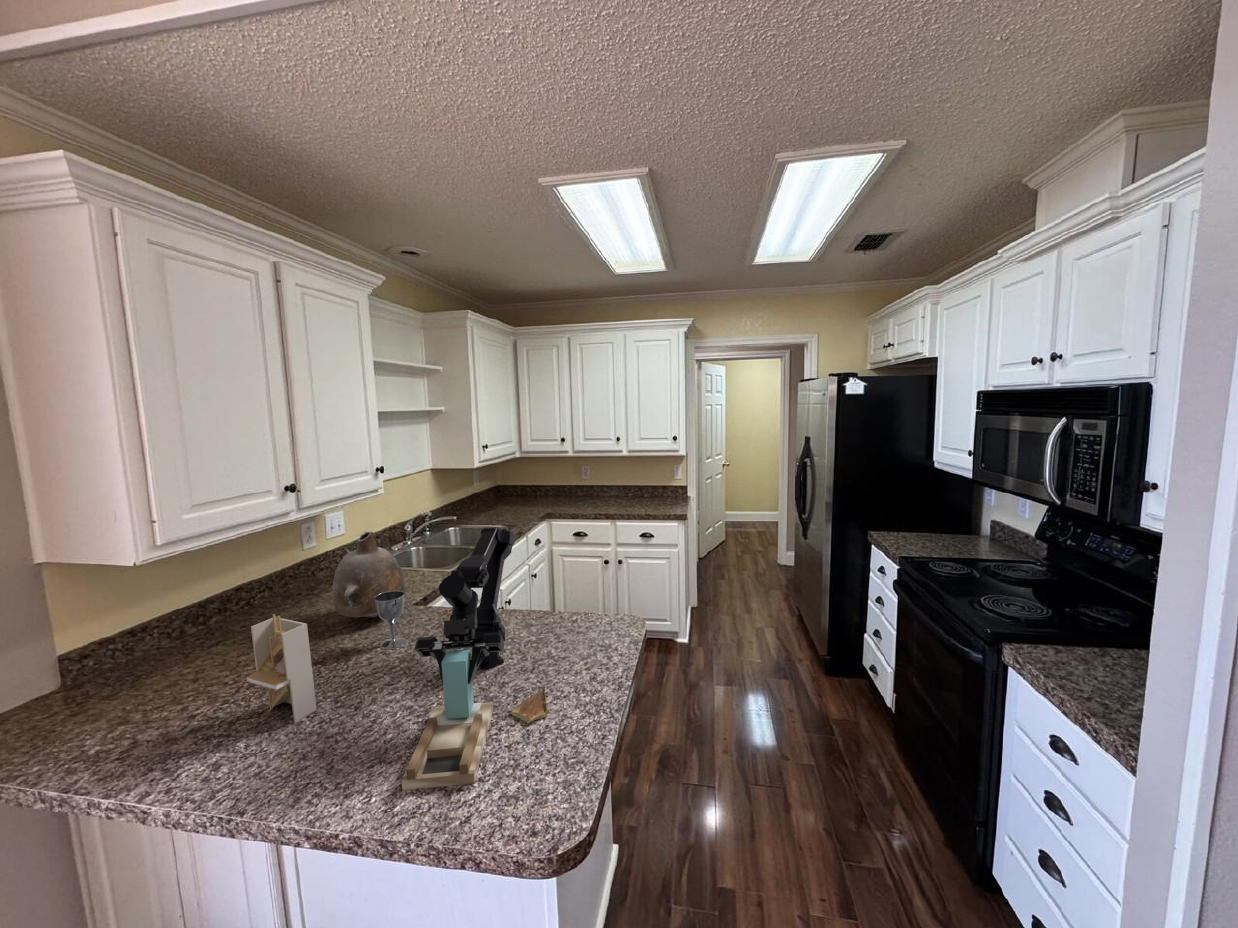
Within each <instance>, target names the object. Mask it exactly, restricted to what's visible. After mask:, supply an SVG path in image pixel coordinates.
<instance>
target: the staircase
mask: <svg viewBox="0 0 1238 928" xmlns="http://www.w3.org/2000/svg"><path fill="white" fill-rule="evenodd" d="M250 631H251V638H252V647H253V656H254V661H255V662H254V663H255V669H256V670H255V671H256V672H254V673H252V674H249V676H246V681H247V682H249V683H252V684H256V685H259V686H263V687H266V688H268V689H267V694H268V703H269V710H270V711H272V710H274V709H273V708H275V707H277V706H279V705H281V704H282V703H286V704H290V705H291V707H292V717H293V723H297V722H298V723H299V721H301V720H302V719H304V718H306V717H307V716H309V715H310V714H312V713H314V712H315V711H316V710H317V703H316V702H317V701H316V693H315V685H314V683H315V682H314V676H313V674H314V673H313V667H312V657H311V649H310V641H309V640H310V639H309V631H308V623H305V622H301V621H296V620H291V619H286V618H281V615H278V616H277V615H276V614H275V613H274V614H272V617H271V618H269V619H266V620H263V621H261V622H259V623H257V624H254V625H252V626H250ZM276 667H277V669H276ZM276 670H277V671H276Z"/></svg>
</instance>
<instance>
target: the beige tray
mask: <svg viewBox="0 0 1238 928" xmlns="http://www.w3.org/2000/svg"><path fill="white" fill-rule="evenodd" d="M493 704H494V703H493V701H491V702H490V701H488V702H474V704H473V707H472V710H471V713H470V716H469V717H465V718H453V719H446V717H445V705H440V706H434V707H433V709H432V712H431V713H430V716H429V718H428V720H427V723H426V726H425V727H424V730H423V731H422V734H421V736H420V738H419V741H418V742H417V745H416V747H415V749H414V751H413V754H412V756H411V757H410V760H409V763H408V765H407V766H406V770H405V771H404V774H403V776H402V778H401V789H402V790H401V791H407V790H409V791H410V790H419V789H429V788H440V787H451V786H460V785H468V784H469V785H470V784H475V782H476V778H477V774H478V770H479V766H480V763H481V758H482V755H483V751H484V746H485V743H486V738H487V736H488V731H489V728H490V724H491V719H492V716H493V711H494V705H493Z"/></svg>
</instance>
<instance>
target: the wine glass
mask: <svg viewBox="0 0 1238 928" xmlns="http://www.w3.org/2000/svg"><path fill="white" fill-rule="evenodd" d="M375 607H376V611H377V614H378V616H377V617H378V618H380V619H381V620H382V621H384V622H385V623H387V625H388V626H389V630H390V636H391V638H389V639H387V640H384V641H383V642H382V643H381V644H380V648H381V649H382V650H394V649H398V648H401V647H403V646H404V645H405V644H406V643H407V639H406V638H404V637H395V625H396V622H397V621H398V620H399V618H400V617H401V615H402V614H403V612H404V609H405V597H404V592H402V591H398V590H395V591H387V592H383V593H380V594H378V595H377V596H375Z"/></svg>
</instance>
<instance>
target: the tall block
mask: <svg viewBox="0 0 1238 928" xmlns="http://www.w3.org/2000/svg"><path fill="white" fill-rule="evenodd" d="M445 653H446V655H445V657H444V659H443V661H442V676H443V685H442V688H443V699H444V700H443V702H444V706H445V717H446V719H453V718H465V717H469V716H470V713H471V710H472V707H473V704H474V703H475V702H474V687H473V681H472V682H471V684H468V674H469V669H470V663H471V658H472V652H471V648H468V649H454V650H446V652H445Z"/></svg>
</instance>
